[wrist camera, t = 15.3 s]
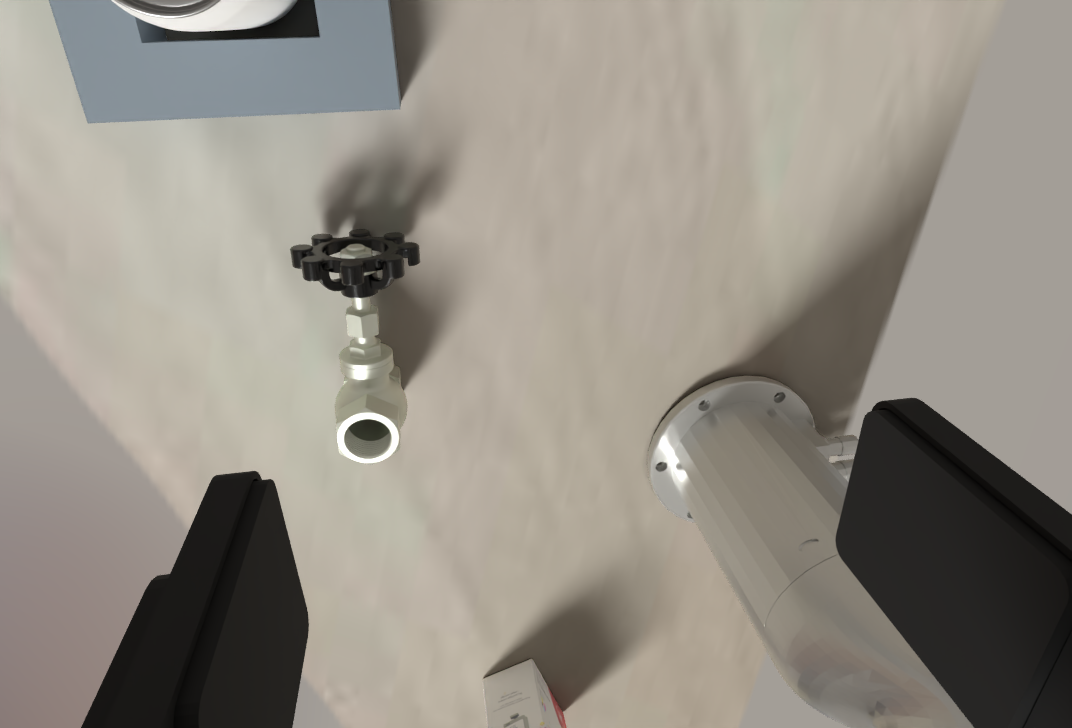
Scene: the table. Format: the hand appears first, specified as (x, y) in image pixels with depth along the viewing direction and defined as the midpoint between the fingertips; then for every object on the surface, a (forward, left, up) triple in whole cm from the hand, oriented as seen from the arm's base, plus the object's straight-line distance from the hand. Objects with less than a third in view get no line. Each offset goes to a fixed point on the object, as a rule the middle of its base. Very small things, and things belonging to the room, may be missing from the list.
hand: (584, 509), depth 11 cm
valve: (+6, +10, -31) cm, 33 cm away
